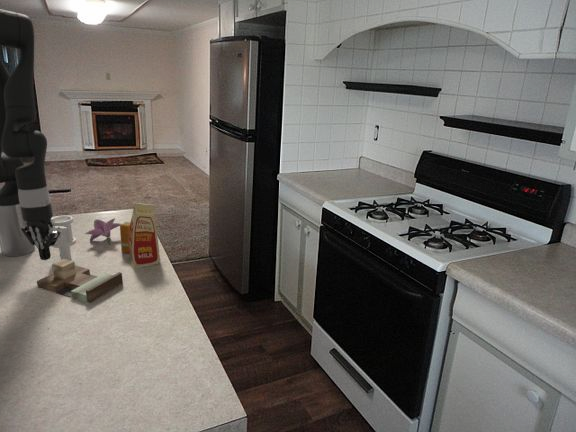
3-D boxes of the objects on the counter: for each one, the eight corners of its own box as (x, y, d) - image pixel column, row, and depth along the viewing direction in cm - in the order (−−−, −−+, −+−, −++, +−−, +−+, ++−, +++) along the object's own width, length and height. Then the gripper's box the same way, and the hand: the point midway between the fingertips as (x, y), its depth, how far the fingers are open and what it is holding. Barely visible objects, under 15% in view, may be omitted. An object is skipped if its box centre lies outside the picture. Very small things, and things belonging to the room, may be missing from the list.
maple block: (54, 276, 122) (52, 264, 120) (65, 271, 125) (64, 258, 124) (64, 279, 120) (62, 266, 119) (75, 273, 124) (74, 261, 123)
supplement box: (130, 253, 143) (128, 225, 140) (121, 252, 144) (118, 224, 141) (135, 249, 146) (133, 222, 143) (126, 248, 147) (124, 221, 144)
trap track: (37, 287, 120) (35, 276, 118) (72, 270, 130) (71, 260, 129) (90, 302, 113) (88, 291, 112) (122, 283, 123) (121, 272, 122)
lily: (128, 239, 158) (118, 215, 158) (123, 238, 147) (113, 212, 147) (96, 252, 155) (86, 228, 155) (88, 252, 144) (77, 226, 144)
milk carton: (133, 268, 133) (128, 207, 127) (129, 257, 141) (123, 199, 135) (163, 263, 137) (159, 203, 131) (157, 252, 145) (153, 196, 139)
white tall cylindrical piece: (48, 261, 136) (41, 217, 131) (67, 253, 142) (60, 210, 137) (65, 265, 133) (58, 220, 128) (83, 257, 139) (77, 214, 135)
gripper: (6, 203, 119) (17, 260, 124) (41, 209, 114) (51, 267, 120) (30, 196, 125) (40, 251, 131) (64, 201, 121) (73, 257, 126)
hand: (45, 259), depth 125 cm, fingers closed
